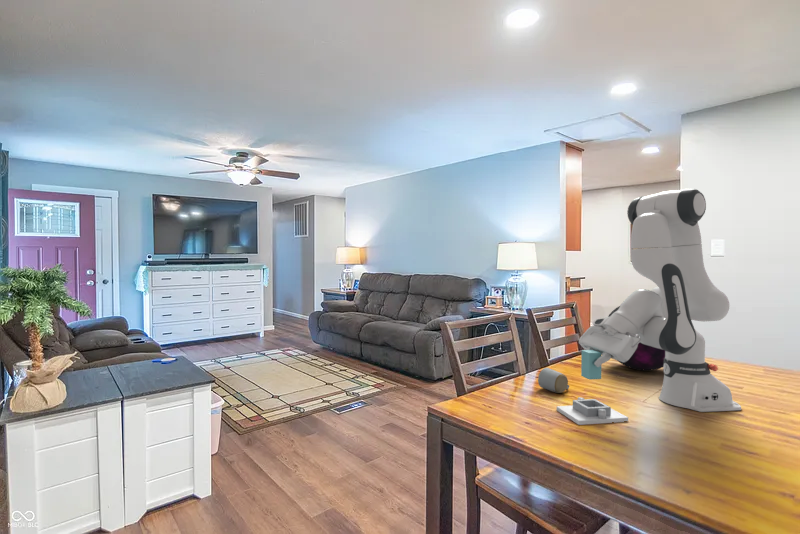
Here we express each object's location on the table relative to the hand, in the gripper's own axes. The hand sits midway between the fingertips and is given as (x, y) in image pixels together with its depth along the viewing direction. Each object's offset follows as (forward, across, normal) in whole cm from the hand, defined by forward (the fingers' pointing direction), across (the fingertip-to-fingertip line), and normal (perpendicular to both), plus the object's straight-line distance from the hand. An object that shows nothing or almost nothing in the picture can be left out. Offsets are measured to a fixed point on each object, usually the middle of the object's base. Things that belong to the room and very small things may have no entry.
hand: (589, 363), depth 127 cm
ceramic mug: (+9, +25, -14) cm, 30 cm away
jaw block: (+3, 0, -4) cm, 4 cm away
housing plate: (+11, 0, -12) cm, 16 cm away
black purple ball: (-28, +46, -51) cm, 75 cm away
